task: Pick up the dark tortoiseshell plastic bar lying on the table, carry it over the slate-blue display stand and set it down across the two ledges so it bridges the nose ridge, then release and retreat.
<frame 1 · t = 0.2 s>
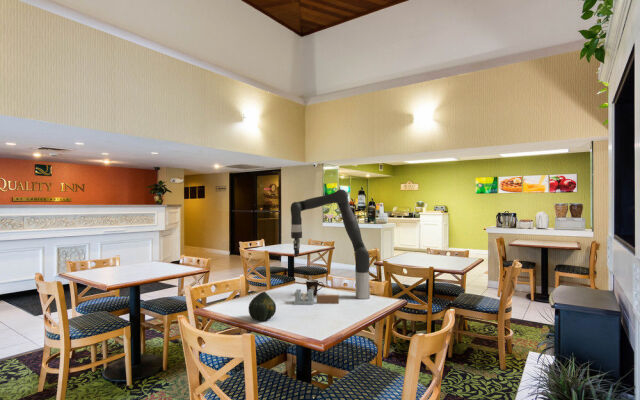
hand: (296, 255, 243), 29 cm above the table, fingers open, 8 cm apart
squash: (262, 319, 195), on the table
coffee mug: (314, 295, 248), on the table
display stand: (304, 302, 228), on the table
glasses bar: (327, 303, 227), on the table
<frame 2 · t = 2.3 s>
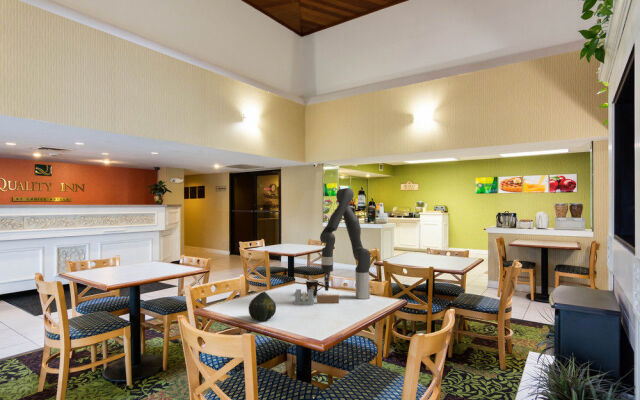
hand: (326, 289, 228), 9 cm above the table, fingers open, 8 cm apart
nothing on the table moved.
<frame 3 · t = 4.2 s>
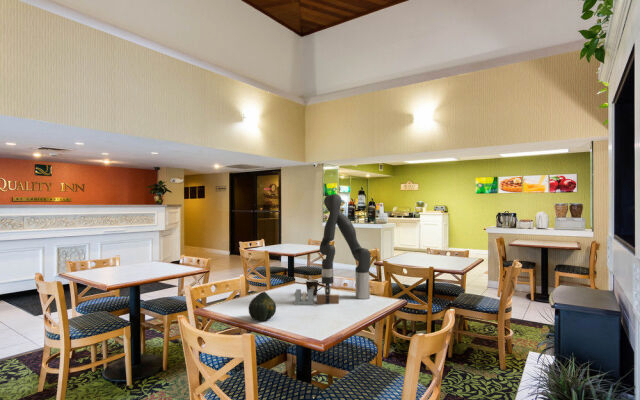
hand: (327, 302, 227), 0 cm above the table, fingers closed on glasses bar, 3 cm apart
glasses bar: (327, 303, 227), on the table, touching gripper
everything else where it was.
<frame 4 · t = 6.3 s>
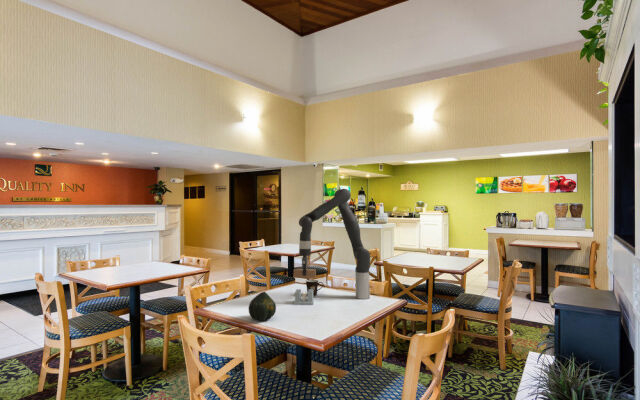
hand: (304, 274, 228), 18 cm above the table, fingers closed on glasses bar, 3 cm apart
glasses bar: (304, 277, 228), point 16 cm above the table, touching gripper
everything else where it was.
when the fingers open (8 cm above the table, at t = 8.8 s): glasses bar stays where it is, resting on display stand.
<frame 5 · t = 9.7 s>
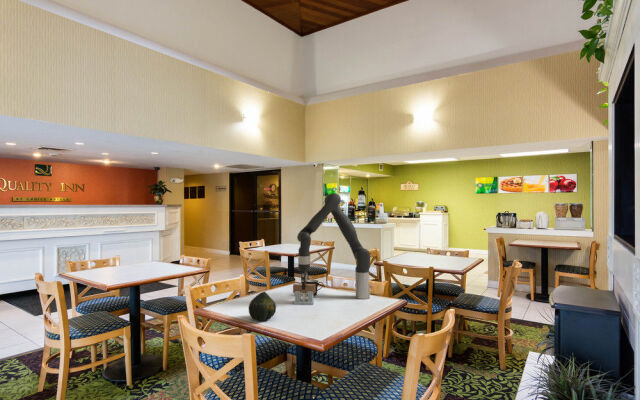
hand: (304, 288, 228), 9 cm above the table, fingers open, 8 cm apart
glasses bar: (304, 292, 228), point 6 cm above the table, touching display stand
everything else where it was.
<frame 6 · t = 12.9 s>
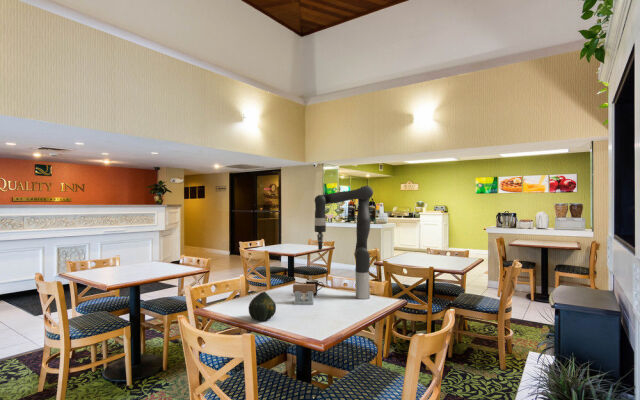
hand: (320, 249, 238), 33 cm above the table, fingers open, 8 cm apart
nothing on the table moved.
at the end: glasses bar 0.1 cm off-centre on the display stand, point 6.5 cm above the display stand's base; glasses bar tilted 0°; the gripper is holding nothing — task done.
